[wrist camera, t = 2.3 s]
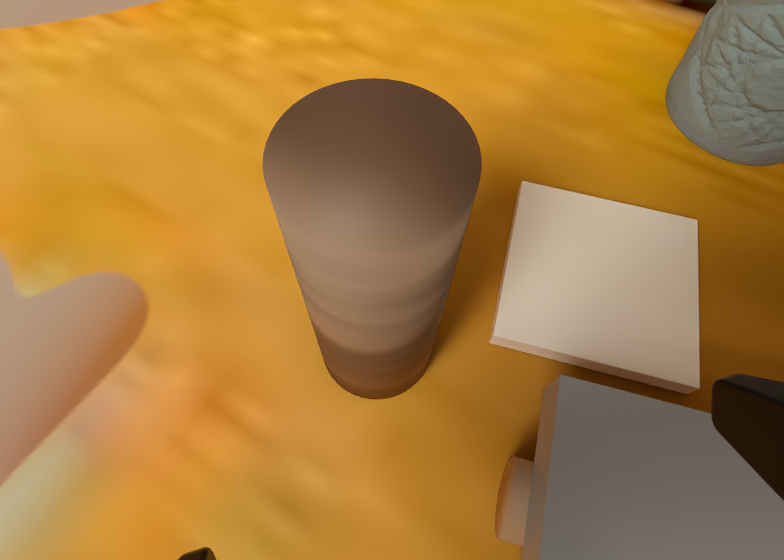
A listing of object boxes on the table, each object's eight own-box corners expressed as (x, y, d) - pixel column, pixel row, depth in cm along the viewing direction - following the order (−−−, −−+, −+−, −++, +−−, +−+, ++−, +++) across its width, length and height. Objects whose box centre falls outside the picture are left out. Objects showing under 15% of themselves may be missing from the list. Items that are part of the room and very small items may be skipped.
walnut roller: (416, 412, 22) (457, 274, 10) (307, 382, 22) (226, 218, 11) (441, 310, 24) (498, 101, 12) (341, 285, 24) (306, 61, 13)
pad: (687, 394, 22) (699, 388, 21) (488, 342, 23) (493, 335, 22) (686, 230, 26) (697, 219, 25) (517, 192, 27) (522, 180, 26)
